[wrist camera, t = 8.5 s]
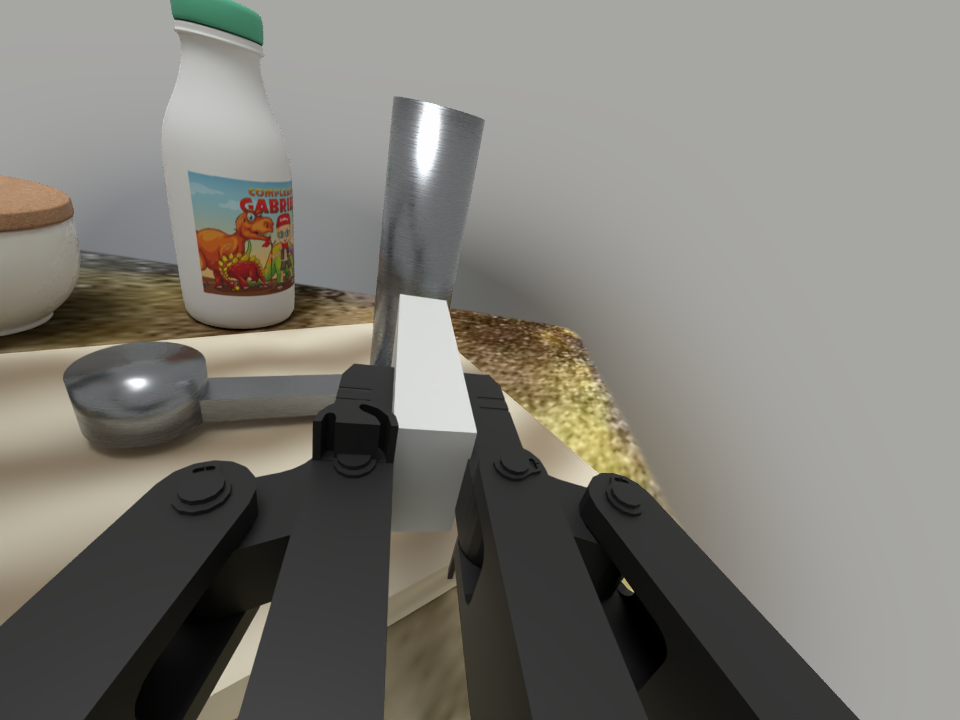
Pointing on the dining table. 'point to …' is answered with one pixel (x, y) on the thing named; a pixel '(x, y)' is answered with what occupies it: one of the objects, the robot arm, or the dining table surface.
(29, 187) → the lidded jar
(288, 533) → the robot arm
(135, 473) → the dial board
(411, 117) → the lever
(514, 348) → the dining table surface
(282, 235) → the milk bottle
